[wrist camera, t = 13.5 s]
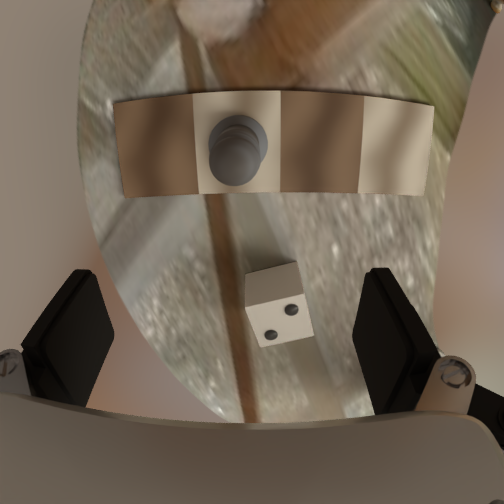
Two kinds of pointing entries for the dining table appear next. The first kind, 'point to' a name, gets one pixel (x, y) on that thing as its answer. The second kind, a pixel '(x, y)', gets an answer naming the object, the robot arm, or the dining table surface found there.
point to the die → (277, 305)
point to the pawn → (236, 149)
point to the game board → (276, 143)
